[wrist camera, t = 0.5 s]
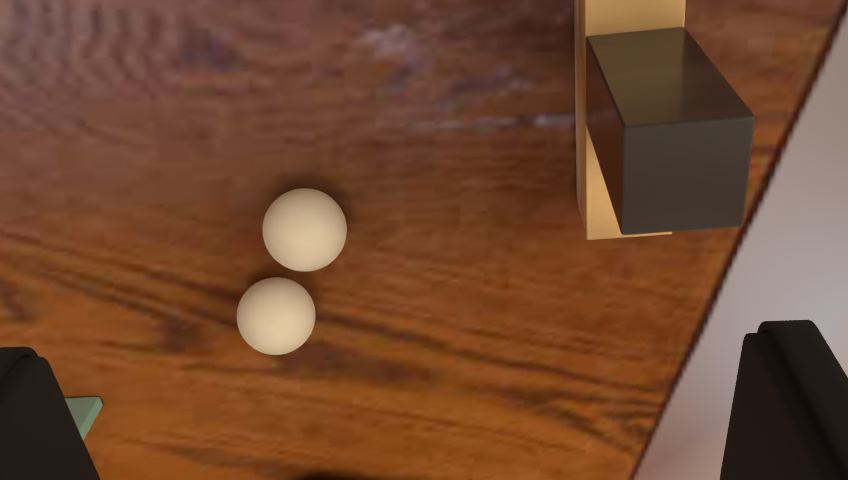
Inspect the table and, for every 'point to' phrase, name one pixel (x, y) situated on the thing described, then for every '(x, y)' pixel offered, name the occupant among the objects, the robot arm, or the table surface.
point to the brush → (654, 125)
